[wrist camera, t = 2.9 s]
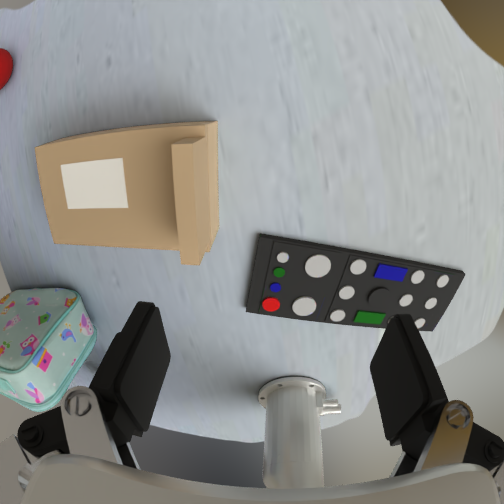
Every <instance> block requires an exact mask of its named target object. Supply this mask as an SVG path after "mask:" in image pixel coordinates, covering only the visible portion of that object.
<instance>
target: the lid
mask: <svg viewBox="0 0 504 504" xmlns="http://www.w3.org/2000/svg"><path fill="white" fill-rule="evenodd" d="M35 153H36V161H37V168H38V174H39V180H40V185H41V191H42V196H43V201H44V205H45V210H46V214H47V218H48V222H49V226H50V230H51V234H52V237H53V241H54V244H70V245H88V246H106V247H124V248H142V249H161V250H179V251H180V257H181V264H186V265H200V263H201V261H202V258H203V256H204V253H205V252H210V249H211V239H210V218H209V191H208V151H207V125H184V126H168V127H155V128H144V129H134V130H125V131H117V132H110V133H103V134H97V135H90V136H85V137H79V138H74V139H68V140H63V141H59V142H54V143H50V144H45V145H41V146H38V147H35Z"/></svg>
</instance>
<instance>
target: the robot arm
mask: <svg viewBox="0 0 504 504" xmlns="http://www.w3.org/2000/svg"><path fill="white" fill-rule="evenodd" d="M170 357H171V356H170V350H169V347H168V343H167V339H166V335H165V331H164V327H163V323H162V319H161V315H160V311H159V308H158V307H155V305H154V303H150V302H142V301H139V302H138V303H137V304H136V306H135V308H134V309H133V311H132V313H131V315H130V317H129V318H128V320H127V322H126V324H125V326H124V328H123V329H122V331H121V332H119V333H117V334H116V336H115V337H114V339H113V341H112V343H111V345H110V347H109V348H108V350H107V352H106V354H105V356H104V358H103V360H102V362H101V364H100V366H99V368H98V370H97V372H96V374H95V376H94V378H93V380H92V382H91V384H90V386H89V388H87V387H84V386H77V387H73V388H71V389H69V390H68V391H67V392H66V393H65V394H64V395H63V397H62V400H61V406H60V407H57V408H55V409H52V410H50V411H47V412H45V413H42V414H40V415H37V416H34V417H32V418H30V419H27V420H25V421H24V422H23V423H22V424H21V425H20V427H19V429H18V435H17V436H15V435H12V436H10V437H9V438H7V439H6V440H4V441H3V442H1V443H0V504H504V442H503V440H502V439H501V438H500V437H499V436H497V435H495V434H493V433H491V432H490V431H488V430H486V429H484V428H482V427H481V426H479V425H477V424H475V423H474V422H473V412H472V410H471V409H470V407H469V406H468V405H467V404H466V403H464V402H463V401H460V400H452V401H450V402H449V401H448V399H447V396H446V393H445V390H444V388H443V385H442V383H441V380H440V378H439V375H438V373H437V370H436V368H435V366H434V363H433V361H432V359H431V356H430V354H429V352H428V350H427V348H426V346H425V344H424V341H423V339H422V337H421V335H420V333H419V331H418V329H417V326H416V324H415V322H414V320H413V318H412V316H411V315H410V314H395V315H394V317H393V318H391V319H390V320H389V323H388V325H387V327H386V330H385V332H384V334H383V337H382V339H381V341H380V343H379V346H378V348H377V350H376V352H375V354H374V357H373V359H372V361H371V364H370V371H371V375H372V379H373V383H374V387H375V391H376V396H377V400H378V404H379V409H380V413H381V418H382V423H383V428H384V432H385V437H386V439H387V440H389V441H390V445H391V446H395V445H400V444H401V445H402V450H403V452H402V454H401V456H400V458H399V460H398V462H397V464H396V466H395V468H394V470H393V472H392V473H391V475H390V477H389V478H386V479H381V480H375V481H370V482H364V483H356V484H349V485H341V486H331V487H324V476H323V457H322V441H321V427H320V416H324V414H340V412H341V405H340V404H338V400H337V399H332V400H325V398H326V389H325V387H324V386H323V385H322V384H321V383H320V382H318V381H316V380H314V379H310V378H306V377H286V378H280V379H277V380H274V381H271V382H269V383H267V384H266V385H264V386H263V387H262V388H261V389H260V391H259V395H258V400H259V403H260V404H261V405H262V406H263V407H264V408H266V423H265V443H264V461H263V481H264V484H265V486H266V487H267V488H246V487H233V486H223V485H216V484H207V483H201V482H194V481H189V480H183V479H178V478H173V477H168V476H164V475H159V474H155V473H151V472H147V471H143V470H140V467H139V466H138V463H137V461H136V459H135V456H134V454H133V451H132V449H131V447H130V444H129V442H130V441H131V438H132V435H136V436H139V437H142V434H143V431H147V430H148V428H149V425H150V422H151V418H152V415H153V412H154V409H155V406H156V402H157V399H158V396H159V393H160V390H161V387H162V384H163V381H164V378H165V375H166V372H167V369H168V366H169V363H170Z"/></svg>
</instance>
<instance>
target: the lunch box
mask: <svg viewBox="0 0 504 504" xmlns="http://www.w3.org/2000/svg"><path fill="white" fill-rule="evenodd" d="M96 338H97V329H96V327H95V326H94V325H93V324H92V323H91V321H90V318H89V316H88V314H87V312H86V310H85V307H84V305H83V303H82V300H81V296H80V295H79V294H78V293H77V292H76V291H73V290H69V289H64V288H46V289H39V288H33V289H27V290H16V291H13V292H11V293H9V294H7V295H6V296H5V297H3V298H2V299H1V300H0V394H2V395H4V396H6V397H8V398H10V399H12V400H14V401H16V402H17V403H19V404H21V405H23V406H24V407H26V408H28V409H30V410H32V411H36V412H41V411H45V410H48V409H50V408H51V407H53V406H55V405H56V404H57V403H58V402H59V401H60V399H61V398H62V397H63V395H64V394H65V392H66V390H67V388H68V386H69V385H70V383H71V381H72V380H73V378H74V376H75V375H76V373H77V372H78V370H79V369H80V367H81V366H82V364H83V363H84V361H85V360H86V358H87V357H88V355H89V354H90V352H91V351H92V349H93V347H94V345H95V342H96Z"/></svg>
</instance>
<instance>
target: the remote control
mask: <svg viewBox="0 0 504 504" xmlns="http://www.w3.org/2000/svg"><path fill="white" fill-rule="evenodd" d="M464 276H465V273H464V272H463V271H460V270H455V269H450V268H445V267H440V266H435V265H430V264H425V263H420V262H415V261H410V260H405V259H400V258H394V257H389V256H384V255H379V254H373V253H368V252H363V251H357V250H352V249H346V248H341V247H335V246H330V245H324V244H318V243H313V242H307V241H301V240H296V239H290V238H284V237H278V236H272V235H266V234H260V237H259V242H258V248H257V253H256V258H255V264H254V269H253V275H252V280H251V286H250V291H249V297H248V302H247V307H246V312H250V313H256V314H263V315H270V316H277V317H284V318H291V319H299V320H307V321H315V322H324V323H333V324H342V325H352V326H363V327H374V328H386V327H387V325H388V323H389V320H390V319H391V318H393V317H394V315H395V314H410V315H411V316H412V318H413V320H414V322H415V324H416V326H417V329H418V331H433V330H434V328H435V327H436V325H437V324H438V322H439V320H440V319H441V317H442V316H443V314H444V312H445V311H446V309H447V307H448V306H449V304H450V302H451V300H452V299H453V297H454V295H455V293H456V291H457V290H458V288H459V286H460V284H461V282H462V280H463V278H464Z"/></svg>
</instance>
